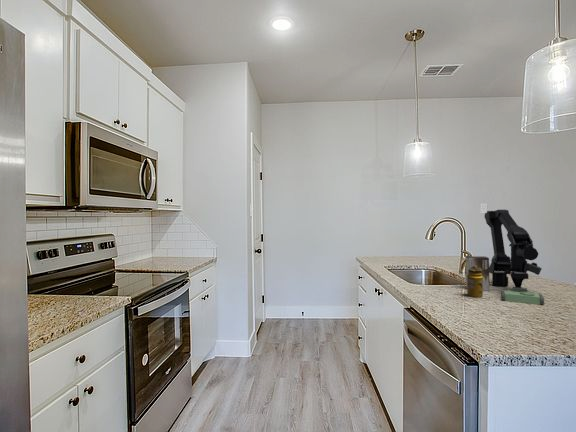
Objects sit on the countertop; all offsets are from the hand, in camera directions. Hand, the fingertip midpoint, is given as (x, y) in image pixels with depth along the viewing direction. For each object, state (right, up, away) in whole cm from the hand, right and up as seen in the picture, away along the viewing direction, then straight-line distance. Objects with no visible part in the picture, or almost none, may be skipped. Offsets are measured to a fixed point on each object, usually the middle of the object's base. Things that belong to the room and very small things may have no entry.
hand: (518, 290), depth 153 cm
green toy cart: (-6, -2, -10) cm, 11 cm away
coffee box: (-13, -2, +10) cm, 17 cm away
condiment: (-23, -2, -4) cm, 24 cm away
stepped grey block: (-4, -2, -7) cm, 8 cm away
